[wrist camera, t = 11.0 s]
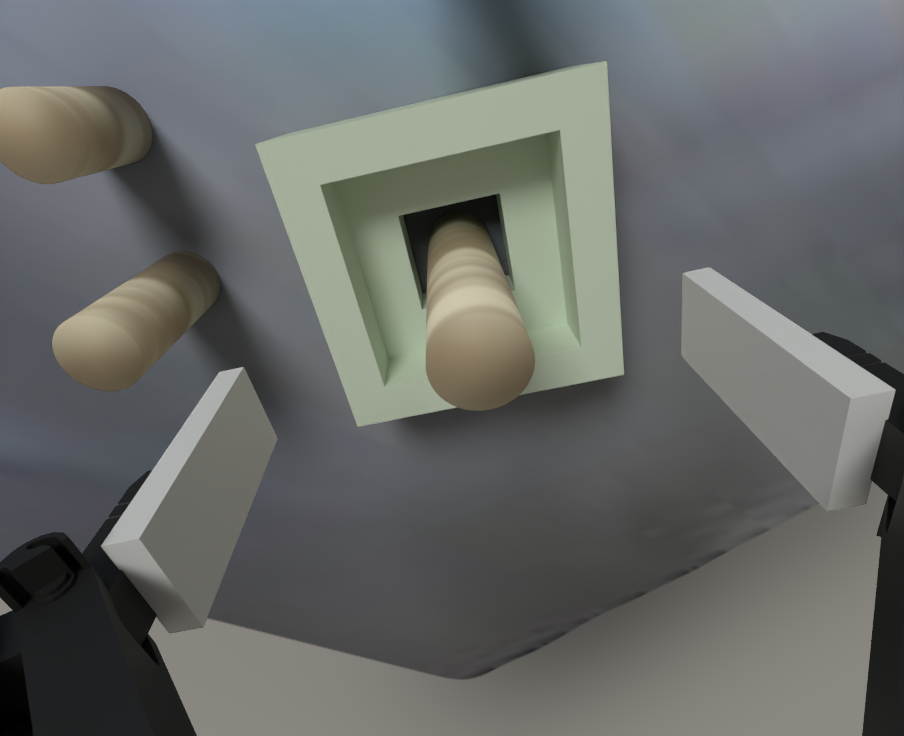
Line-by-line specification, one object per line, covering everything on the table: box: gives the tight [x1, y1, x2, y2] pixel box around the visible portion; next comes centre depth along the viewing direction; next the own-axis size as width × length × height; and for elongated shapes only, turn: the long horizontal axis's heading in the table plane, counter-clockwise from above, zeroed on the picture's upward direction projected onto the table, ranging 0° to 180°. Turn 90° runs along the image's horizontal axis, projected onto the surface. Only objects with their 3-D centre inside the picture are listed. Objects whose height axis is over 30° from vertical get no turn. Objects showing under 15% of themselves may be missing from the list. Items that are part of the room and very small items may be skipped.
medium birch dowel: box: [52, 251, 221, 391], centre depth 25 cm, size 3×3×9 cm
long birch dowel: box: [426, 212, 535, 411], centre depth 22 cm, size 3×3×14 cm
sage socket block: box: [255, 61, 624, 427], centre depth 26 cm, size 14×14×6 cm
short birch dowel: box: [0, 86, 152, 184], centre depth 22 cm, size 3×3×6 cm
